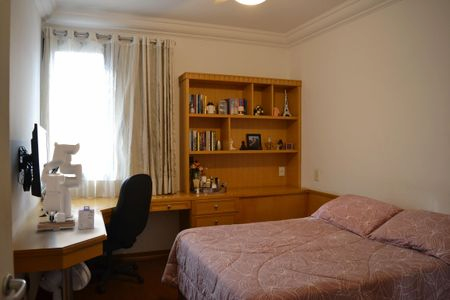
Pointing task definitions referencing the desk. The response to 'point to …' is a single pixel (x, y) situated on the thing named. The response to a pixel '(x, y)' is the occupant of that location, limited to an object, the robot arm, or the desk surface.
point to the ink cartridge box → (86, 218)
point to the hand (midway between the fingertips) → (51, 221)
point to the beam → (55, 225)
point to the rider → (60, 217)
